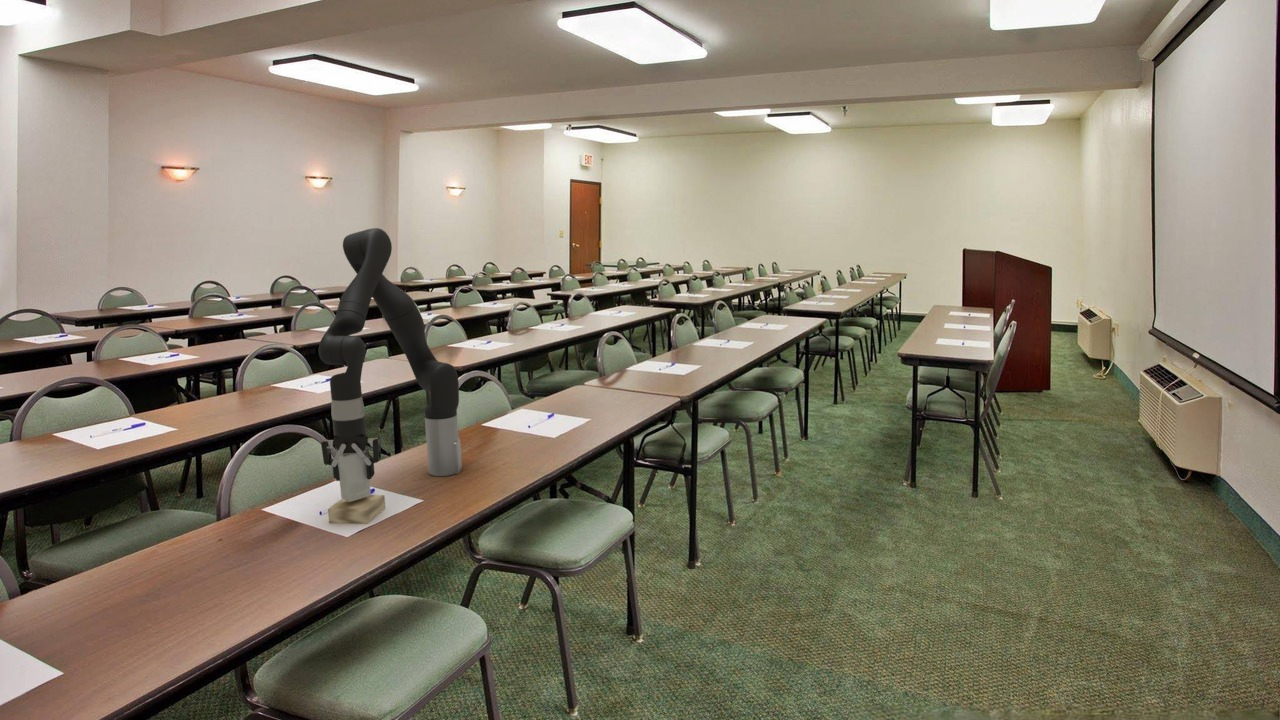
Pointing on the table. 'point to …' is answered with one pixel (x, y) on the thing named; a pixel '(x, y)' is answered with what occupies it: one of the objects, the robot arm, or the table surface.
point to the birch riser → (356, 510)
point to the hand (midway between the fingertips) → (354, 479)
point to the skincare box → (353, 477)
